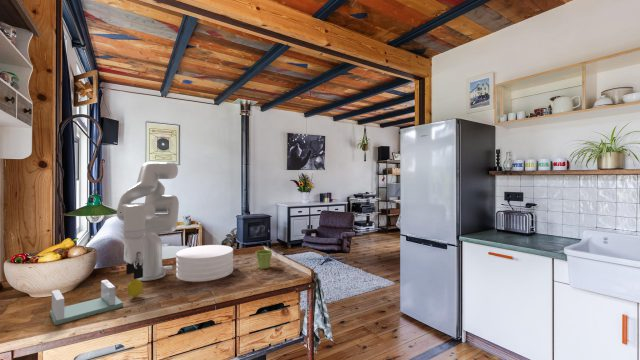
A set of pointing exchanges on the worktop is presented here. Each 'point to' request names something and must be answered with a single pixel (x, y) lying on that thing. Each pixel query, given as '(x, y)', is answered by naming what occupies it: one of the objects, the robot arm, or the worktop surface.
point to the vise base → (78, 308)
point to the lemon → (135, 288)
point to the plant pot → (263, 258)
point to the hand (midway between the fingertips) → (134, 275)
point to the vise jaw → (108, 292)
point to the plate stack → (204, 263)
